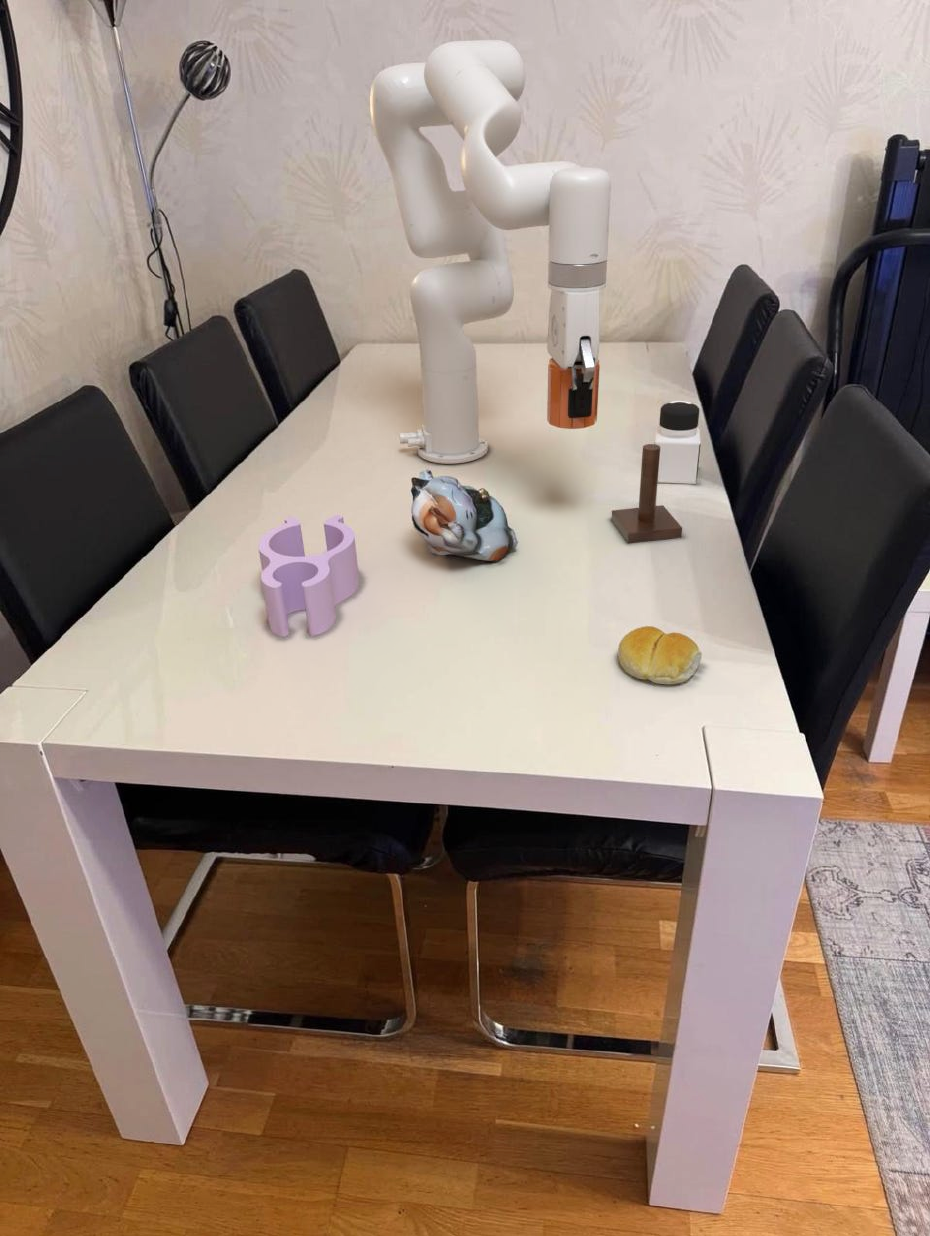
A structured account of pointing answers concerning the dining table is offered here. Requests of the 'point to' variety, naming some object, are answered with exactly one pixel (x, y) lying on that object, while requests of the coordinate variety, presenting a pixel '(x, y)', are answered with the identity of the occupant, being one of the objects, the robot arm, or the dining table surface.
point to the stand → (647, 507)
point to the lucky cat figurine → (460, 519)
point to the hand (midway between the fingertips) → (572, 406)
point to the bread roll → (659, 655)
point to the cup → (559, 397)
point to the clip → (307, 574)
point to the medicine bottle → (678, 442)
